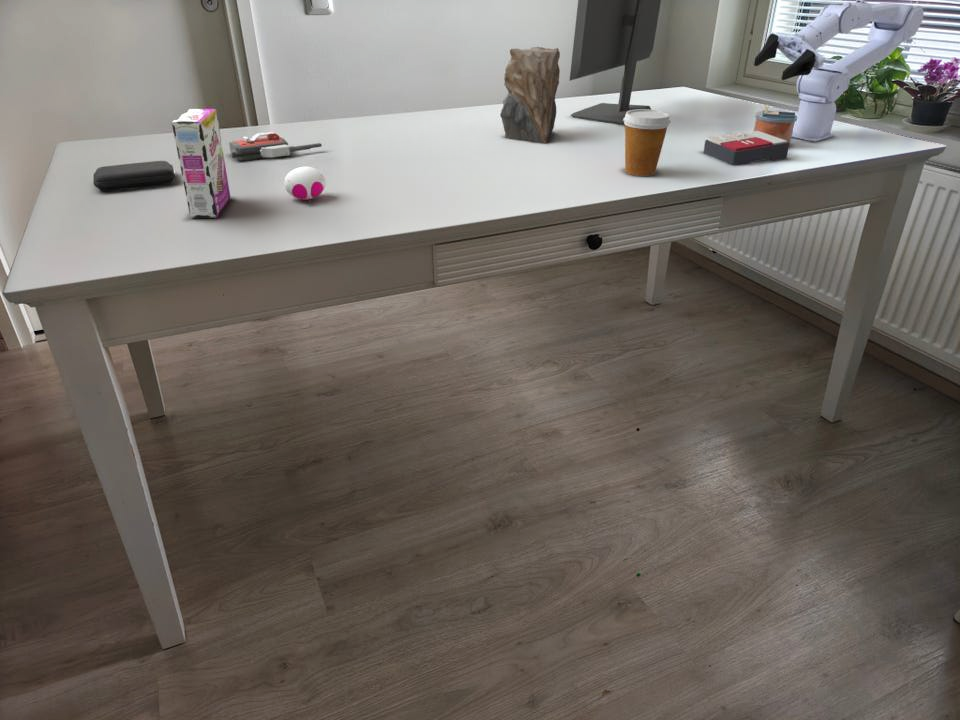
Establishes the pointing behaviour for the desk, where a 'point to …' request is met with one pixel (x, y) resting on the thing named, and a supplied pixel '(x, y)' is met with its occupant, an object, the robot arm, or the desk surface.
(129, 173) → the carrying case
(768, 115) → the tumbler
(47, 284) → the desk surface
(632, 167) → the disposable coffee cup
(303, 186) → the stress ball
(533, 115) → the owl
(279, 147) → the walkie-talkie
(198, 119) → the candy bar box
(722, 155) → the dark grey flat box
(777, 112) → the lid slider
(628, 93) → the computer monitor
